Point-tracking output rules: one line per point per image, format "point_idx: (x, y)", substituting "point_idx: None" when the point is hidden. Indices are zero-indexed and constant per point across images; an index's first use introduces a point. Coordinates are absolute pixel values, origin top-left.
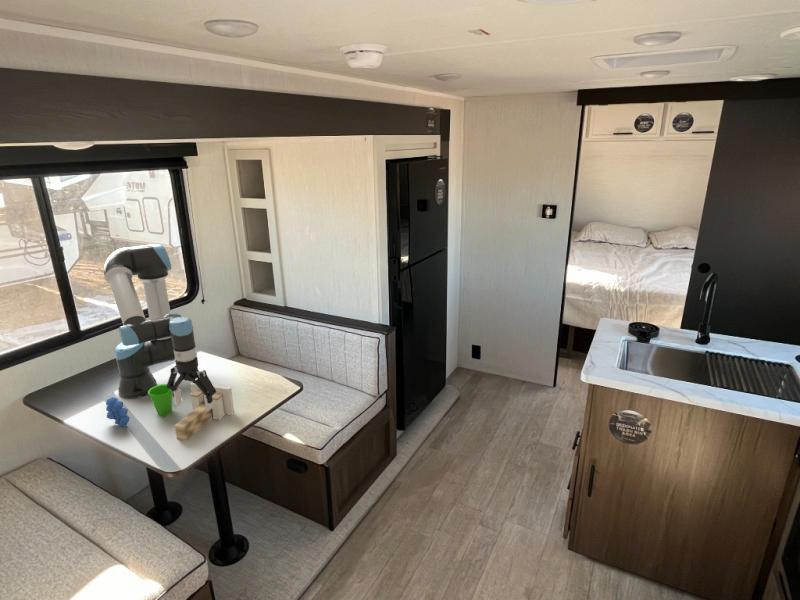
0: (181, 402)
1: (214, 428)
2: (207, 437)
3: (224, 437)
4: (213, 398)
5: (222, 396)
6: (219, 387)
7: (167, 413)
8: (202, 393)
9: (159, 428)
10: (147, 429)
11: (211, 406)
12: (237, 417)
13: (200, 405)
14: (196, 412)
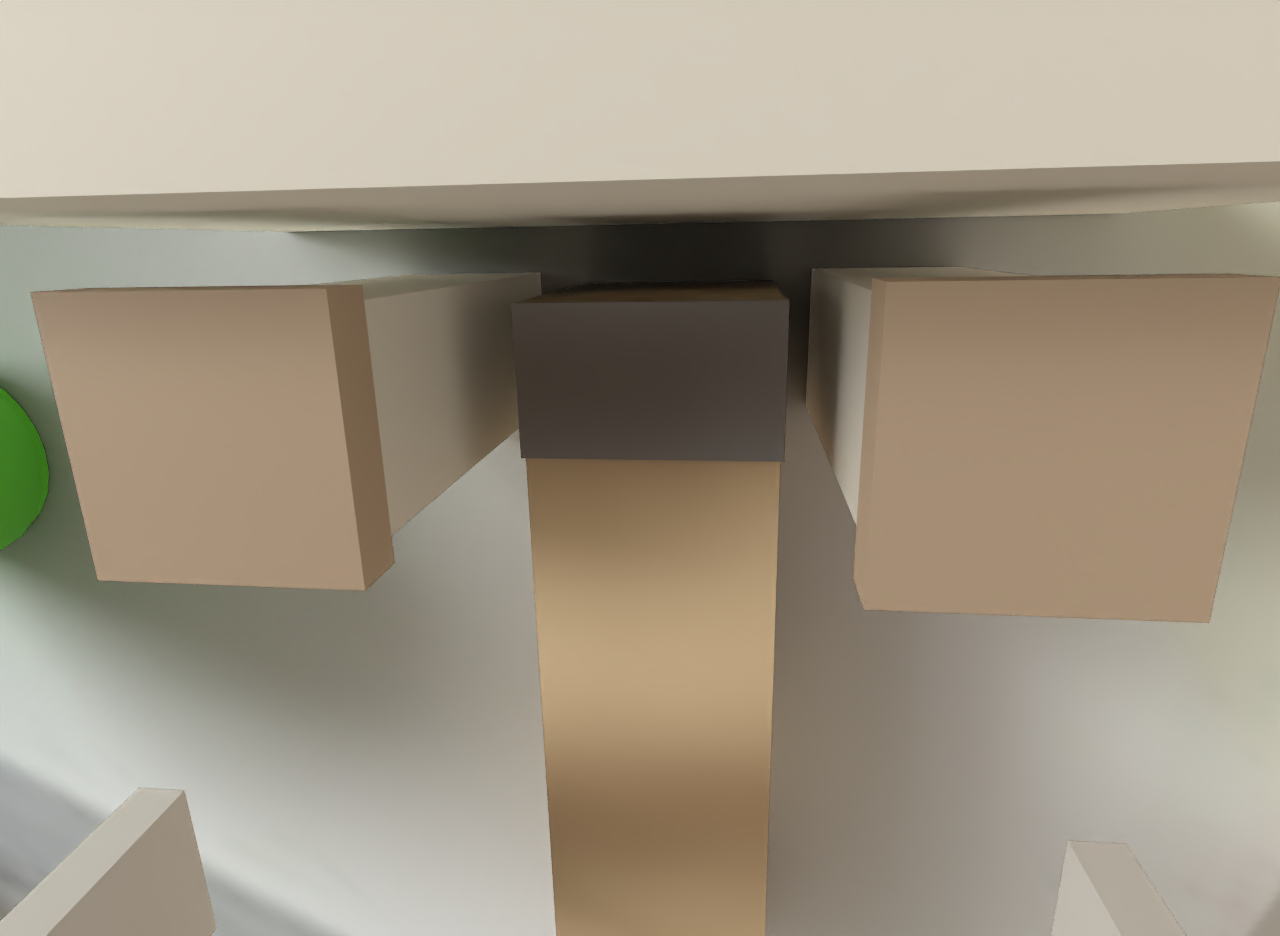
0: (179, 822)
1: (984, 640)
2: (1002, 838)
3: (1277, 803)
4: (1031, 611)
5: (1128, 193)
6: (1243, 94)
7: (26, 508)
8: (360, 320)
9: (224, 772)
10: (112, 812)
11: (1153, 916)
12: (1256, 250)
13: (555, 531)
14: (665, 785)
